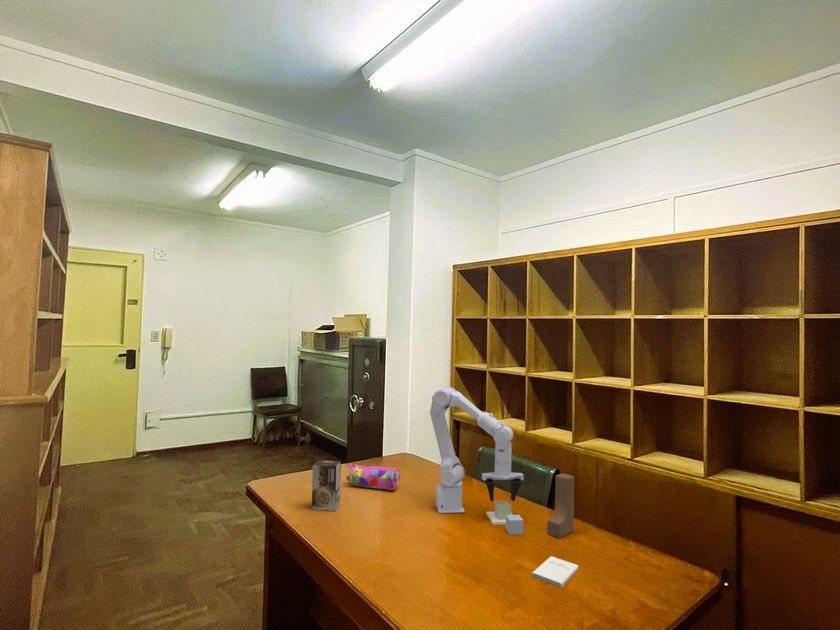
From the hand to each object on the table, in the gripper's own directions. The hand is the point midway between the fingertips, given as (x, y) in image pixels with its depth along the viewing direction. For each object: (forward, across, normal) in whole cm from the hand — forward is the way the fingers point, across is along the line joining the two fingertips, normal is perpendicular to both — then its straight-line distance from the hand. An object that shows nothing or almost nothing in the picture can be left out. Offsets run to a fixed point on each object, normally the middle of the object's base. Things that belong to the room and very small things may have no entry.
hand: (502, 500), depth 157 cm
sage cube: (+6, 0, 0) cm, 6 cm away
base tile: (+7, 0, 0) cm, 7 cm away
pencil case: (+7, -44, +35) cm, 57 cm away
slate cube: (+6, +1, -10) cm, 12 cm away
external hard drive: (+7, +4, -36) cm, 37 cm away
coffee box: (+7, -62, +14) cm, 64 cm away
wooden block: (+6, +16, -12) cm, 21 cm away
